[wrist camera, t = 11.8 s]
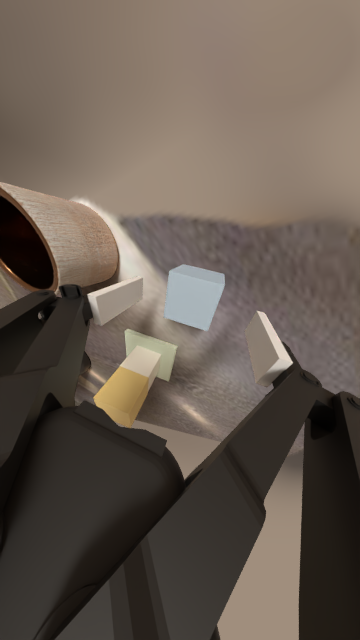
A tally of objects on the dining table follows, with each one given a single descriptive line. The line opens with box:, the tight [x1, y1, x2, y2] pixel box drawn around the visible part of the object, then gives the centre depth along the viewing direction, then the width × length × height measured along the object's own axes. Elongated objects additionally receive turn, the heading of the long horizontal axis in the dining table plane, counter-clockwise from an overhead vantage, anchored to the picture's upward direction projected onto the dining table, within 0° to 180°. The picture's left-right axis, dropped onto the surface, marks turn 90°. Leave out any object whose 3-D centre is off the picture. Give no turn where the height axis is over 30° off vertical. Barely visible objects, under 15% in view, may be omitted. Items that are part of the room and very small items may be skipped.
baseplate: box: [119, 329, 178, 391], centre depth 28 cm, size 12×12×7 cm
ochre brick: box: [94, 366, 149, 428], centre depth 23 cm, size 6×6×6 cm
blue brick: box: [164, 264, 225, 331], centre depth 17 cm, size 6×6×6 cm
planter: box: [0, 182, 118, 295], centre depth 17 cm, size 11×11×10 cm
